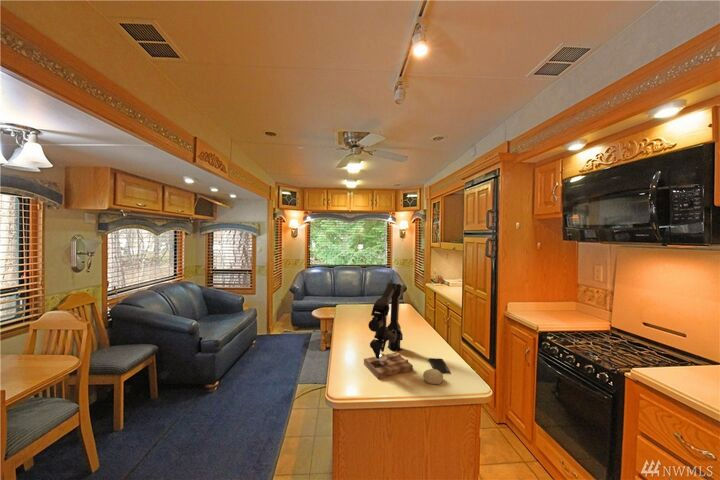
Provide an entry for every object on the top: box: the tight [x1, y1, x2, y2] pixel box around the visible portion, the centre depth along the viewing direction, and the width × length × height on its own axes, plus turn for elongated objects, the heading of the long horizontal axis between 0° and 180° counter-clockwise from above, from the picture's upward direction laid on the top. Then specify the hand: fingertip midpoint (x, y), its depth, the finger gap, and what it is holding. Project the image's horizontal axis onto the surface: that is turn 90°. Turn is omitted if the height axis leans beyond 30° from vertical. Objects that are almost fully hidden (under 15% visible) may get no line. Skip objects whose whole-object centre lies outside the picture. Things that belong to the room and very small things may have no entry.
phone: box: [428, 357, 451, 374], centre depth 144 cm, size 8×1×15 cm
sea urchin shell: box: [422, 368, 444, 385], centre depth 130 cm, size 9×8×8 cm
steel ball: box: [378, 353, 387, 364], centre depth 140 cm, size 5×5×5 cm
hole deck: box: [363, 352, 414, 380], centre depth 141 cm, size 20×16×4 cm
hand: (380, 355), depth 143 cm, fingers open, 9 cm apart
